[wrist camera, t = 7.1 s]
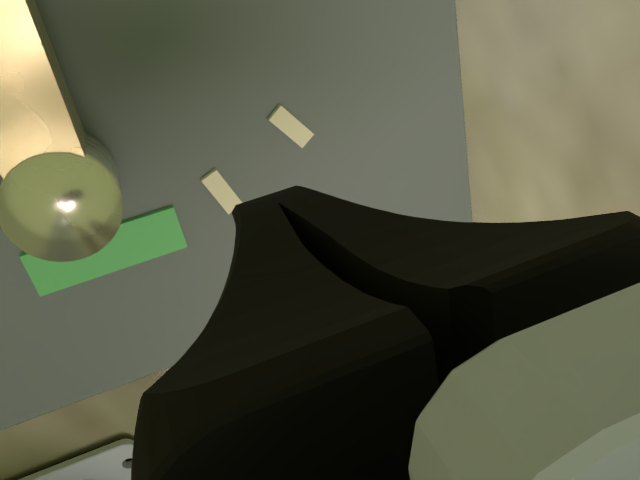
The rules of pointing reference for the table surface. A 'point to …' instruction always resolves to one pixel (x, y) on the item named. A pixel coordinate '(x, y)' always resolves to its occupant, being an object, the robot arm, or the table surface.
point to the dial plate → (221, 163)
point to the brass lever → (48, 151)
